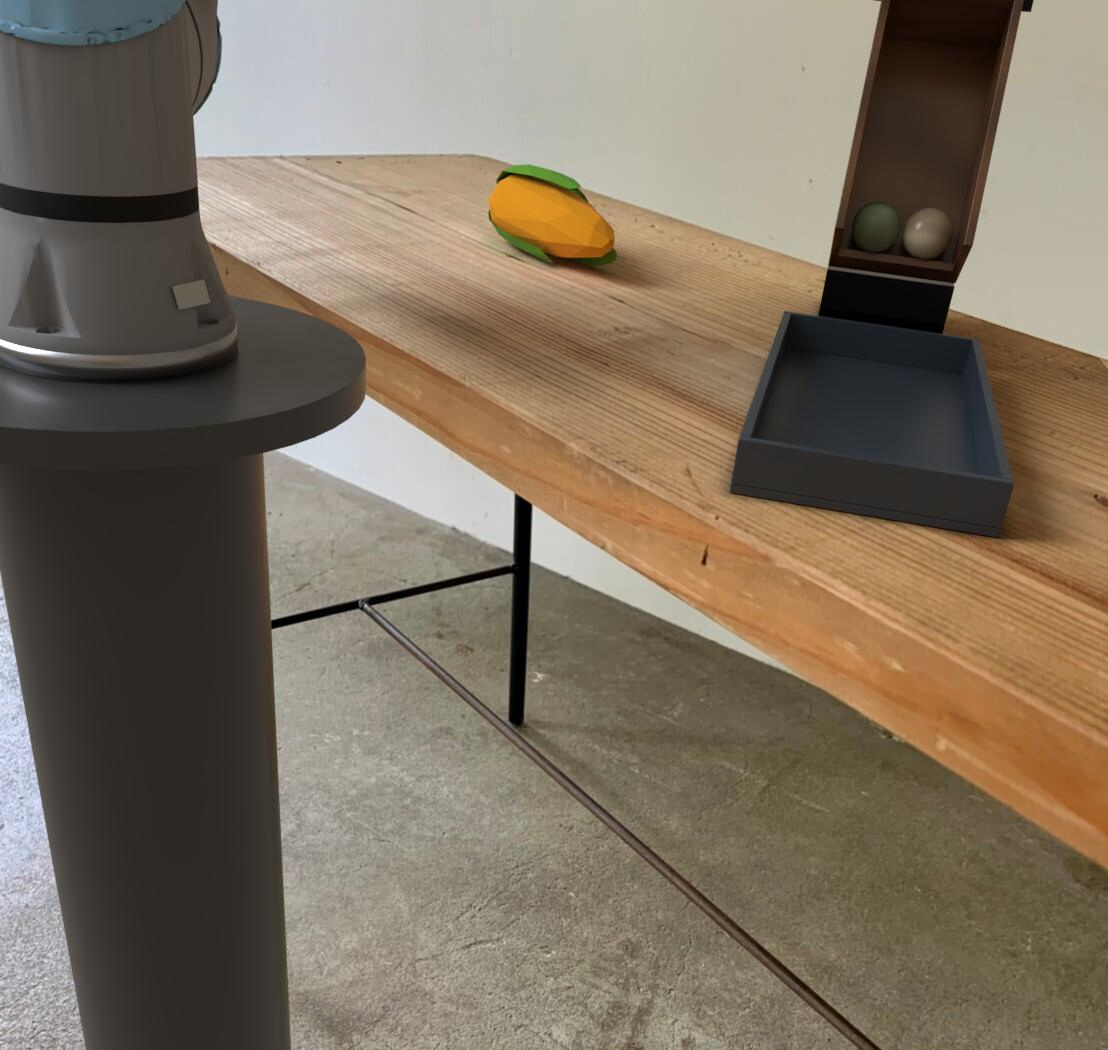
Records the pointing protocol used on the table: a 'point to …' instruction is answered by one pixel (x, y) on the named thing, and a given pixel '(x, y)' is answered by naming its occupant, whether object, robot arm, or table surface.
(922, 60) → the brown wooden tipping box
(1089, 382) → the table surface
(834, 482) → the tray
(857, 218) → the ball sage
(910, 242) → the ball ivory
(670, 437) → the table surface
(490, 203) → the corn
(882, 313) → the stand
